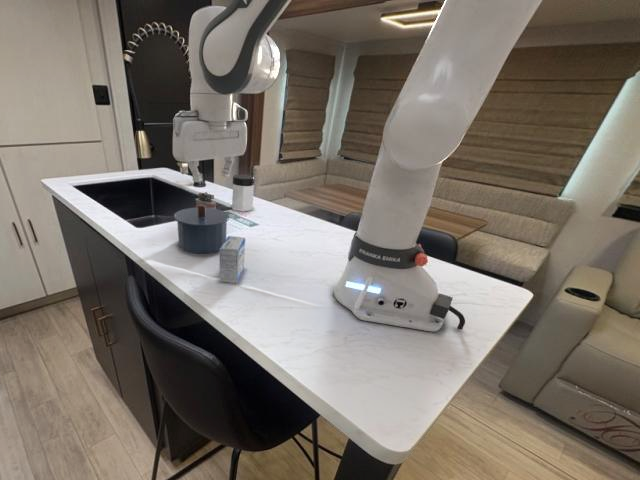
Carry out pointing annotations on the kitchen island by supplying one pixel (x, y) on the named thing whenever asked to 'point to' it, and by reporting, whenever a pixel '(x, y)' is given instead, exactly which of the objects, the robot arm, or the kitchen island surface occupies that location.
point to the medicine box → (232, 259)
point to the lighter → (205, 200)
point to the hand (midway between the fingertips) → (212, 178)
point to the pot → (201, 238)
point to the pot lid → (201, 216)
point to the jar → (243, 192)
